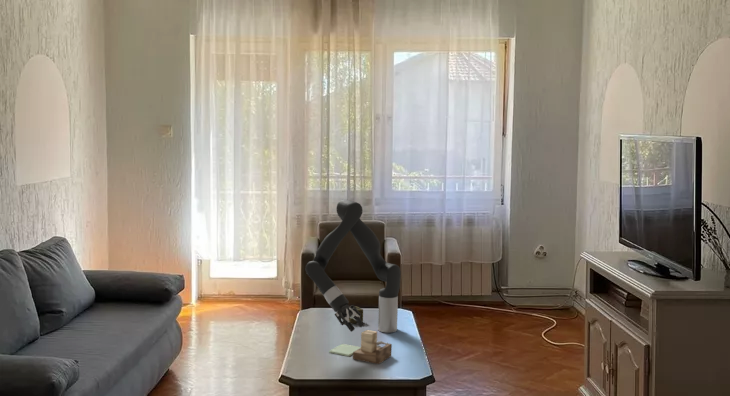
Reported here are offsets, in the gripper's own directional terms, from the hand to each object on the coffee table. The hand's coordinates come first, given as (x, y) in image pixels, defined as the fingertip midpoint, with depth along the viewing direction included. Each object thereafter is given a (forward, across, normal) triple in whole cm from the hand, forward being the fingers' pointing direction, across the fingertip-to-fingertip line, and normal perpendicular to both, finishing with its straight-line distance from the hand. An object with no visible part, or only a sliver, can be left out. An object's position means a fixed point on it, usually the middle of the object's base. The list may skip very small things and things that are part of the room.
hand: (358, 328), depth 316 cm
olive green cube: (-11, +46, +28) cm, 55 cm away
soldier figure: (+10, +13, +8) cm, 18 cm away
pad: (+4, +2, +13) cm, 14 cm away
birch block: (+10, 0, +2) cm, 10 cm away
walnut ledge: (+13, 0, +4) cm, 14 cm away
